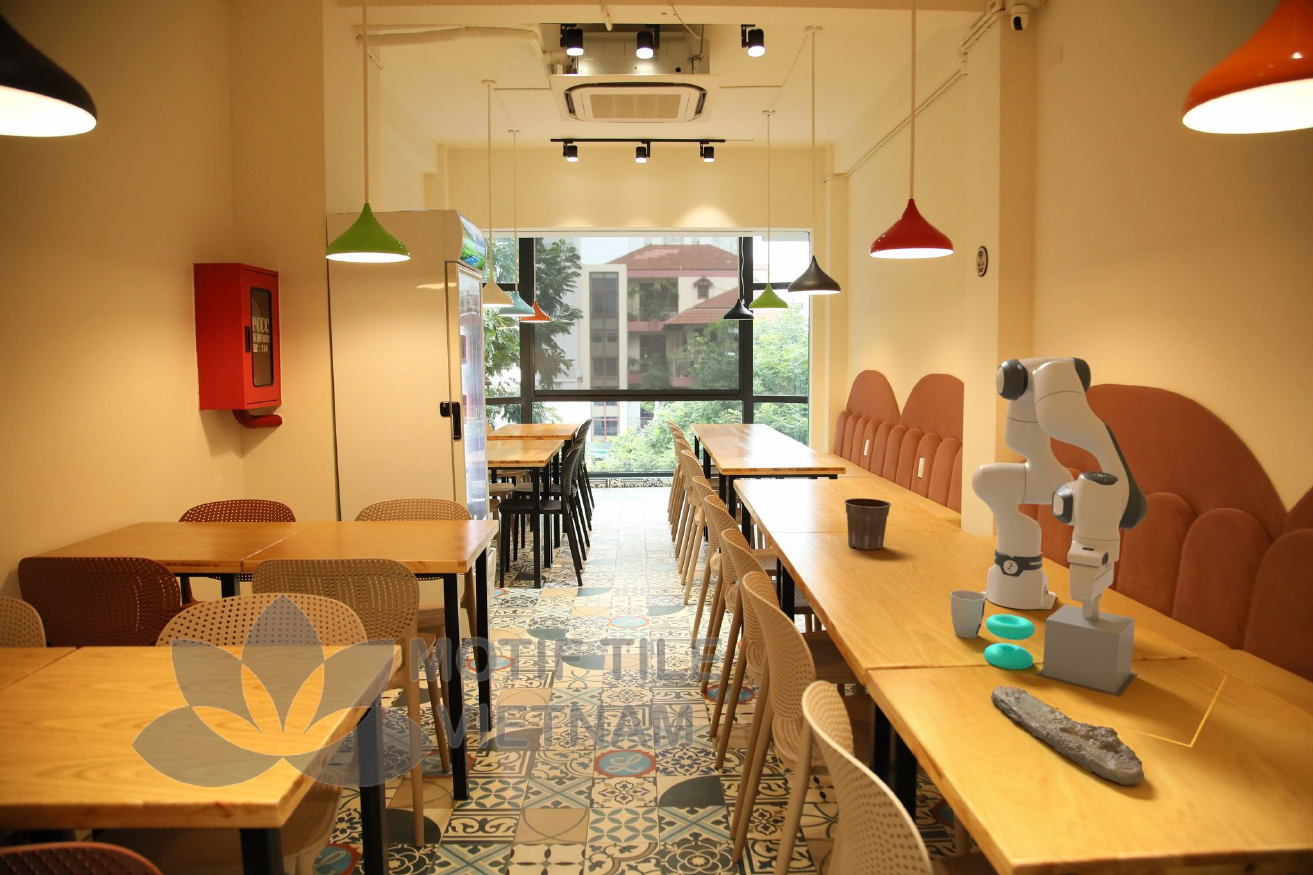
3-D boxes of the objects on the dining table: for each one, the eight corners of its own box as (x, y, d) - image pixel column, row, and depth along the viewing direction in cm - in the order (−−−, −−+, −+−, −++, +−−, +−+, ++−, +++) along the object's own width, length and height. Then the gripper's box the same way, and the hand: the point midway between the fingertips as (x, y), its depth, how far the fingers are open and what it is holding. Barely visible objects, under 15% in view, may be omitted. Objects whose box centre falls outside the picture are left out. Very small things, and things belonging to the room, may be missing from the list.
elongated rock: (1021, 702, 162) (977, 709, 160) (1020, 677, 162) (976, 683, 160) (1164, 783, 128) (1111, 793, 126) (1164, 751, 128) (1110, 760, 126)
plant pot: (894, 552, 280) (896, 506, 279) (848, 551, 280) (850, 506, 279) (882, 541, 296) (884, 498, 295) (838, 541, 297) (840, 497, 295)
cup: (986, 641, 193) (988, 601, 192) (951, 639, 194) (953, 598, 193) (980, 630, 201) (982, 591, 200) (946, 628, 202) (947, 589, 201)
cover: (1061, 657, 182) (1066, 582, 180) (1130, 673, 173) (1136, 595, 171) (1042, 674, 172) (1047, 596, 170) (1115, 693, 162) (1120, 610, 161)
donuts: (1006, 610, 185) (1045, 623, 176) (1004, 652, 186) (1042, 667, 177) (976, 616, 180) (1014, 630, 172) (974, 659, 181) (1011, 675, 173)
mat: (1057, 656, 183) (1057, 654, 183) (1137, 675, 173) (1137, 673, 173) (1035, 676, 172) (1035, 675, 172) (1119, 698, 161) (1119, 696, 161)
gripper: (1091, 539, 179) (1087, 599, 181) (1065, 555, 164) (1060, 621, 165) (1123, 543, 175) (1119, 605, 176) (1099, 560, 160) (1094, 628, 161)
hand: (1090, 613), depth 171 cm, fingers closed on cover, 3 cm apart
